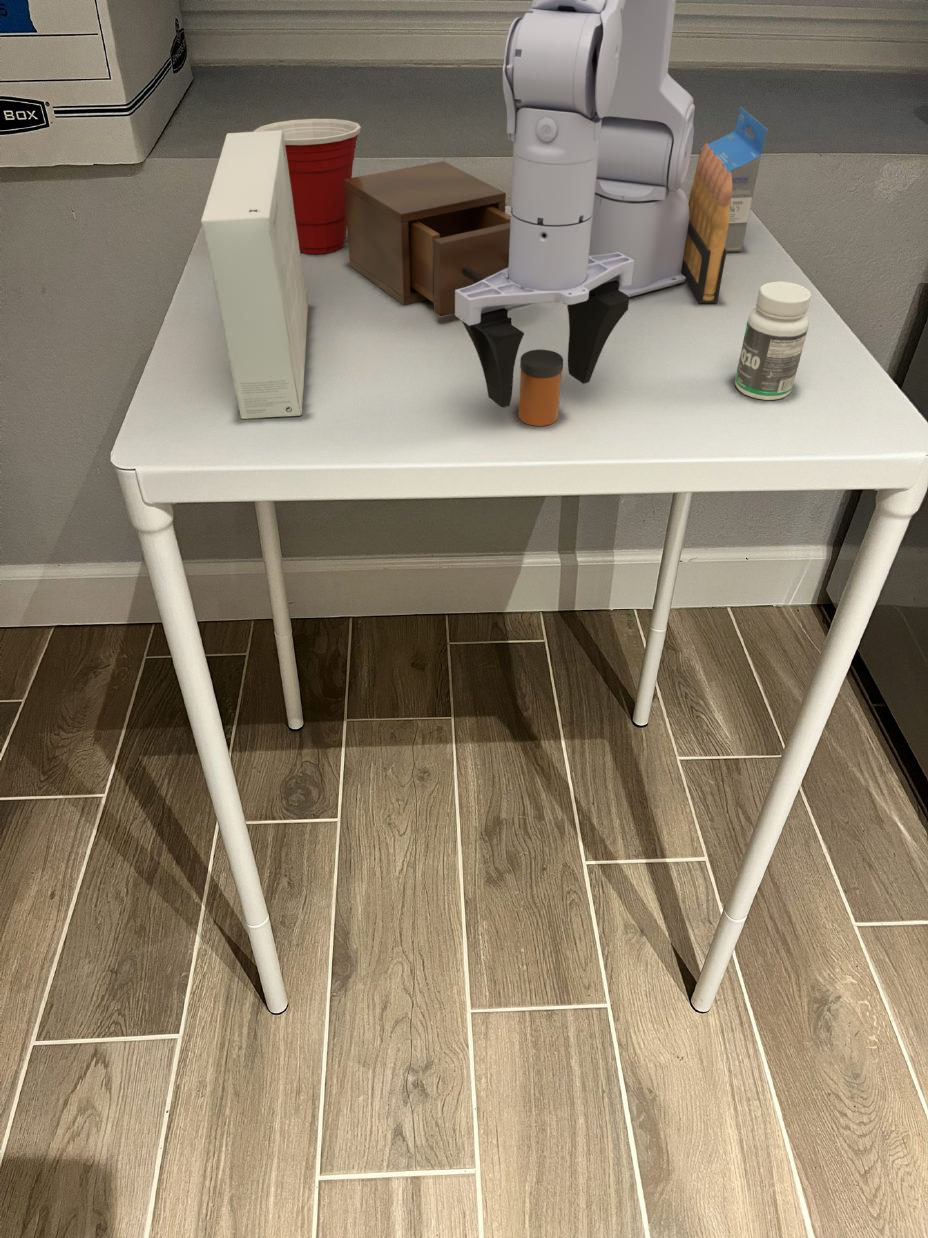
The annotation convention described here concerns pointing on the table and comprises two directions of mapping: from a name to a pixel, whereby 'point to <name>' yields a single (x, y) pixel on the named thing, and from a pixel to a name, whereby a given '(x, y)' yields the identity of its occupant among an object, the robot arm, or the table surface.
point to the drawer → (456, 252)
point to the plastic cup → (319, 178)
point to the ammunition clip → (707, 227)
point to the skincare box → (258, 273)
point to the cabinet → (404, 217)
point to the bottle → (540, 387)
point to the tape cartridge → (740, 172)
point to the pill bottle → (773, 341)
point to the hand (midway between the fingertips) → (539, 389)
